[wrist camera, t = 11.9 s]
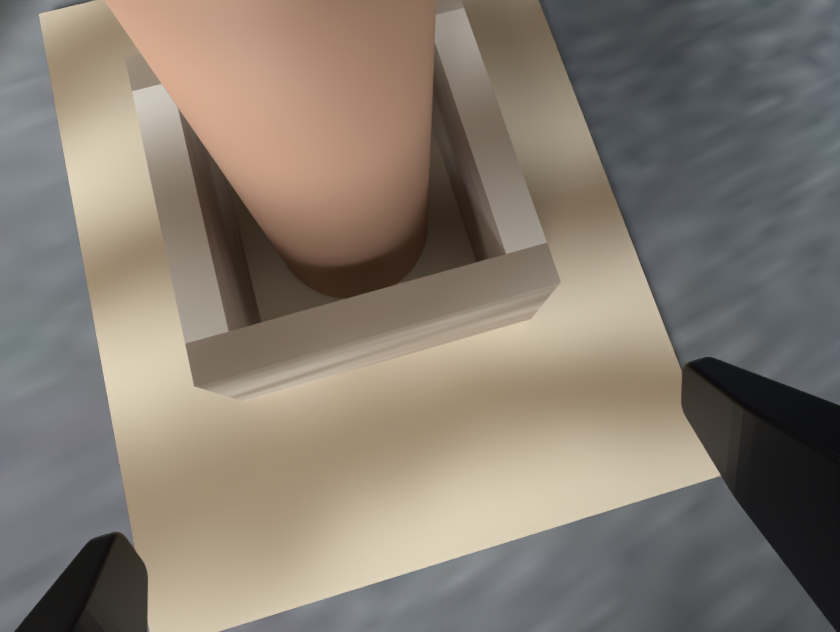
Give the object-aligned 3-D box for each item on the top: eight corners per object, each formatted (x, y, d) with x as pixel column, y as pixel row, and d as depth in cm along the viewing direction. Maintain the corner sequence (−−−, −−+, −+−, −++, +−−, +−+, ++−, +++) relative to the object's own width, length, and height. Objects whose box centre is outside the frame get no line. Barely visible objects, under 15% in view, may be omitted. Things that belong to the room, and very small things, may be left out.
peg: (458, 237, 19) (525, -129, 7) (335, 329, 18) (183, 95, 6) (366, 128, 20) (289, -364, 8) (246, 212, 19) (-36, -185, 7)
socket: (711, 474, 18) (811, 481, 13) (162, 644, 17) (69, 714, 12) (498, -83, 22) (519, -221, 17) (49, 26, 21) (-52, -91, 16)
